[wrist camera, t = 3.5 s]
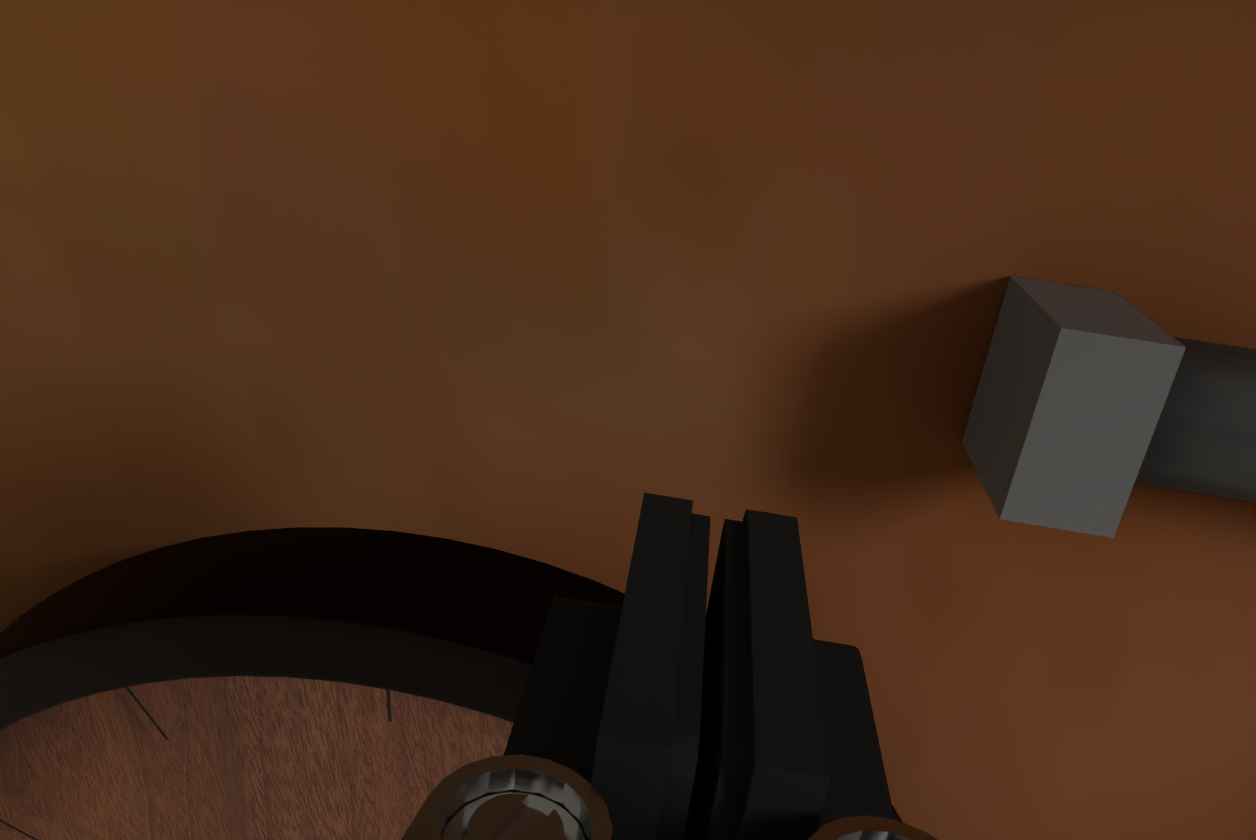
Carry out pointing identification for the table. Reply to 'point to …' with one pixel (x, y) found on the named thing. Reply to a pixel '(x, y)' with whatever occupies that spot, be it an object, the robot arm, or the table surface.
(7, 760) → the wall clock
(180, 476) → the table surface
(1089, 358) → the plug
